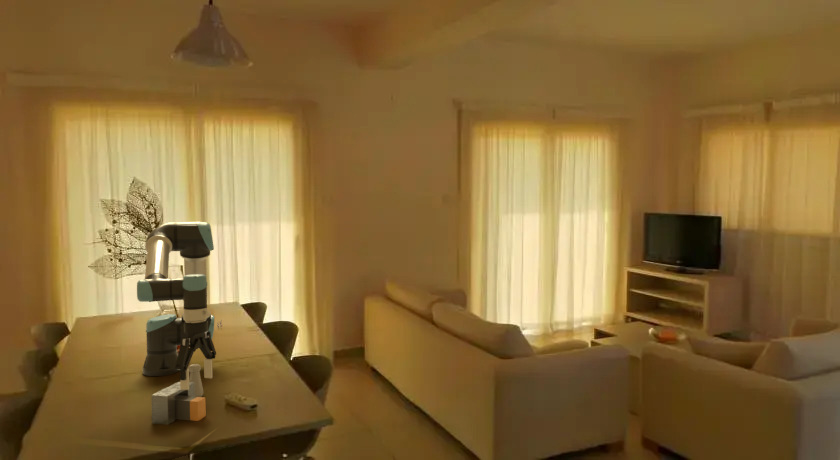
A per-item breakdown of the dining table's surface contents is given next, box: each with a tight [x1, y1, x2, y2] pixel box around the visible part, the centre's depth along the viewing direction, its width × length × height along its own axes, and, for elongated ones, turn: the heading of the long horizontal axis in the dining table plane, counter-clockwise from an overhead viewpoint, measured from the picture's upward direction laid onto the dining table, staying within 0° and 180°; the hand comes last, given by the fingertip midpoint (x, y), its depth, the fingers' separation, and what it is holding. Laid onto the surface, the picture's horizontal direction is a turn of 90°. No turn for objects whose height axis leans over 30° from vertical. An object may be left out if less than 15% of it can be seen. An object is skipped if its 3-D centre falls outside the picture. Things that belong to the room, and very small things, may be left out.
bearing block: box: [150, 381, 195, 426], centre depth 205 cm, size 6×15×10 cm, turn 167°
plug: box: [175, 395, 207, 422], centre depth 204 cm, size 17×4×6 cm, turn 77°
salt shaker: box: [187, 363, 204, 397], centre depth 222 cm, size 6×6×13 cm
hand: (197, 383), depth 202 cm, fingers open, 13 cm apart
